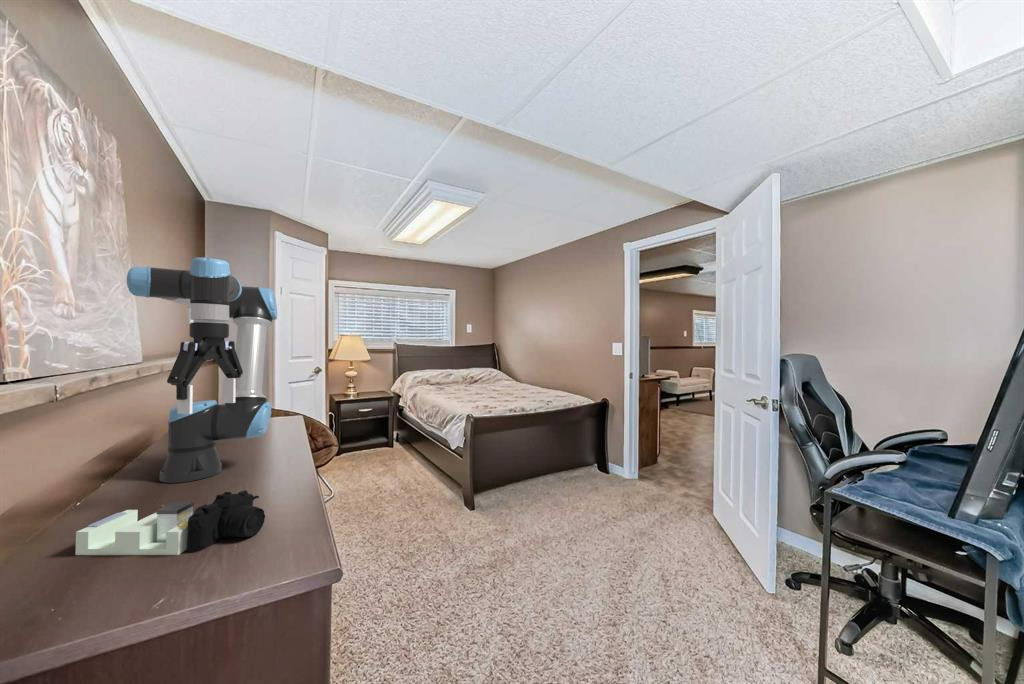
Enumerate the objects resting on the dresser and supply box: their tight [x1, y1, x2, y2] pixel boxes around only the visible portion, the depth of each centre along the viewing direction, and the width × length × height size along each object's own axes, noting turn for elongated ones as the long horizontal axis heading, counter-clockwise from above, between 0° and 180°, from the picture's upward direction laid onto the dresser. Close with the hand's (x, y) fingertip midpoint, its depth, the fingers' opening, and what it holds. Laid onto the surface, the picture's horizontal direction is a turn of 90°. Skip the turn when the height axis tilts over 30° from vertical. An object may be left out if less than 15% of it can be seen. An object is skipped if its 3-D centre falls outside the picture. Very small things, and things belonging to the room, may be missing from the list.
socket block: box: [75, 509, 188, 556], centre depth 79 cm, size 10×20×5 cm, turn 91°
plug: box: [155, 501, 195, 543], centre depth 79 cm, size 4×4×7 cm
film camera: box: [186, 490, 266, 553], centre depth 82 cm, size 15×10×9 cm, turn 171°
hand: (208, 407), depth 92 cm, fingers open, 13 cm apart
